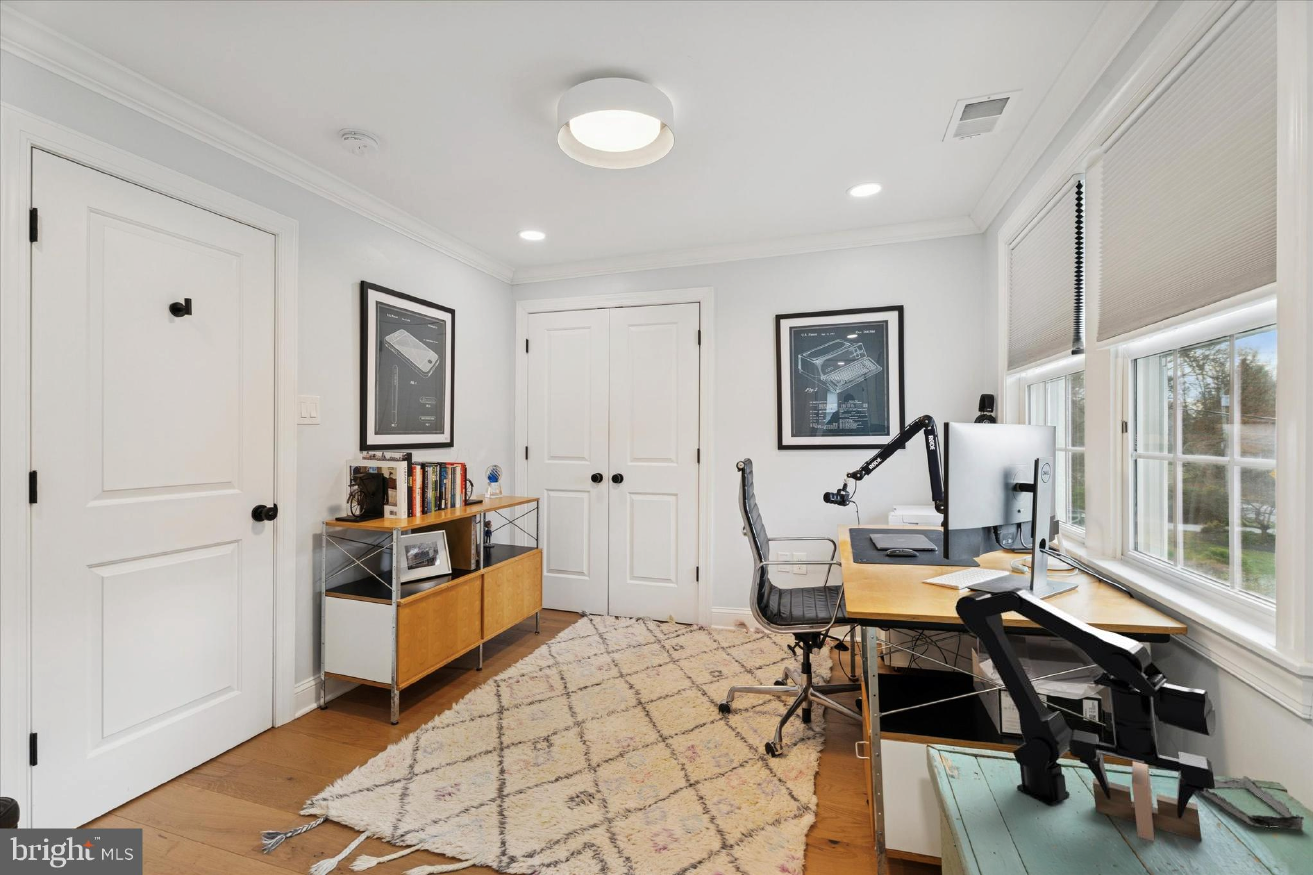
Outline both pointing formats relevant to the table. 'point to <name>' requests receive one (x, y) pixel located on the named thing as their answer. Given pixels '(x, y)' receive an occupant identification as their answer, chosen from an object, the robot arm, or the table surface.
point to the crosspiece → (1142, 800)
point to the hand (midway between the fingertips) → (1143, 807)
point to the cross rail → (1161, 816)
